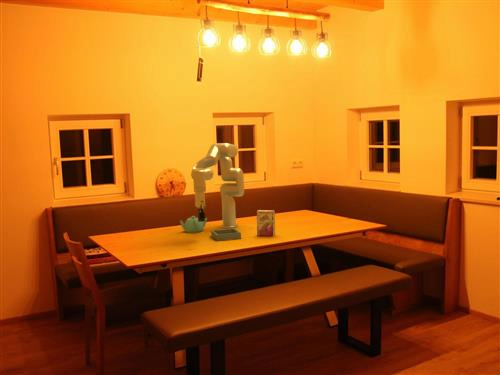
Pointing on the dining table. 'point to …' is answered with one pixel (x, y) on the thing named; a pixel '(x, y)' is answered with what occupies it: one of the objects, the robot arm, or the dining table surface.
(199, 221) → the battery cell
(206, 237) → the dining table surface
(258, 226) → the candy bar box
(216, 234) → the trough
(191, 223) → the teapot
